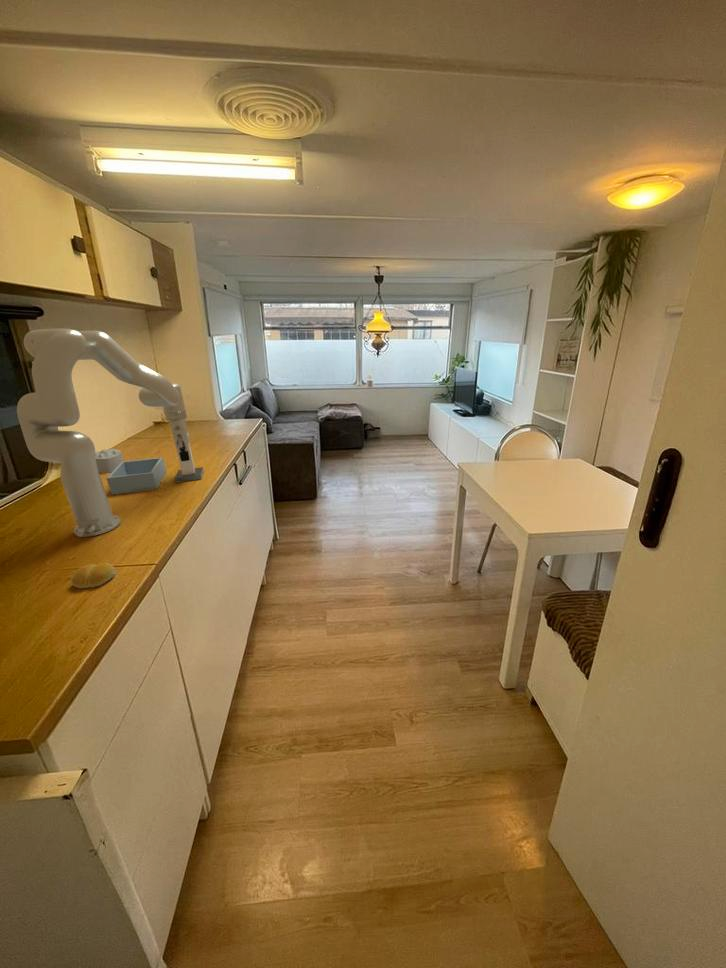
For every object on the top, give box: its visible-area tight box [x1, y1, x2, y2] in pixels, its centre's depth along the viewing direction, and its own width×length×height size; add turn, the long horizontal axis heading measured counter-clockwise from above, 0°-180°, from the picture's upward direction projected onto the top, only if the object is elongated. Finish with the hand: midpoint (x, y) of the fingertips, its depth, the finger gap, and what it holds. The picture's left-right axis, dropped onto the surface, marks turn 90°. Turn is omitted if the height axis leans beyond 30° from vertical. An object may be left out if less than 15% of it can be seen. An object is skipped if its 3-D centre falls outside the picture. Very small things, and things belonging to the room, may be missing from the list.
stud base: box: [174, 467, 205, 483], centre depth 158 cm, size 10×10×7 cm
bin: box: [106, 457, 167, 496], centre depth 154 cm, size 20×16×7 cm
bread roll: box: [70, 562, 116, 589], centre depth 94 cm, size 8×9×4 cm
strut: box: [174, 442, 196, 475], centre depth 156 cm, size 5×5×14 cm
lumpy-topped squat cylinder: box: [95, 448, 125, 474], centre depth 171 cm, size 10×13×9 cm
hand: (185, 458), depth 156 cm, fingers closed on strut, 4 cm apart
